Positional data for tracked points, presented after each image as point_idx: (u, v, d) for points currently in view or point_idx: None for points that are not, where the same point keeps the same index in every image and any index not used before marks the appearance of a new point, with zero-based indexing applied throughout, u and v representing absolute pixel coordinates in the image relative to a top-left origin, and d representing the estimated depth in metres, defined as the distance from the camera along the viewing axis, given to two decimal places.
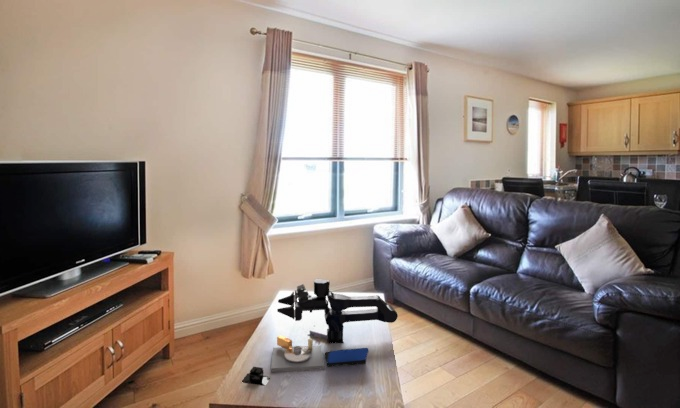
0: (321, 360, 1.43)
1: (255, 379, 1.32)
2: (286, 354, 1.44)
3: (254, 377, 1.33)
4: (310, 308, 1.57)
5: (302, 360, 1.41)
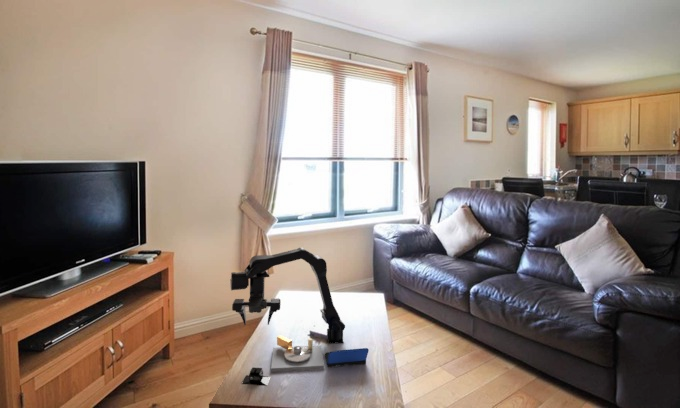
0: (321, 360, 1.43)
1: (255, 380, 1.32)
2: (286, 354, 1.44)
3: (254, 378, 1.33)
4: None
5: (302, 360, 1.41)
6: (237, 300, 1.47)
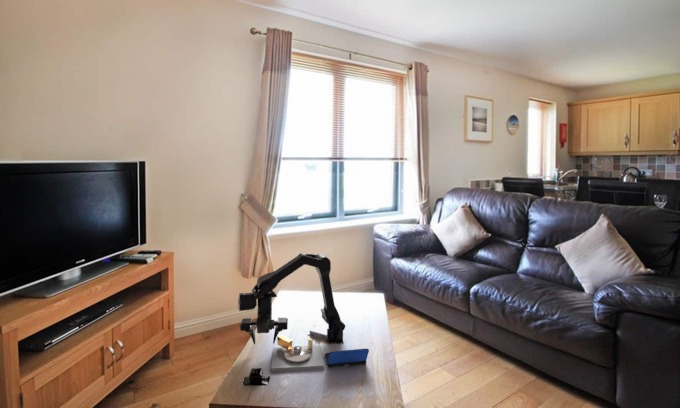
0: (321, 360, 1.43)
1: (255, 380, 1.31)
2: (286, 354, 1.45)
3: (253, 379, 1.32)
4: None
5: (302, 360, 1.41)
6: (244, 320, 1.49)
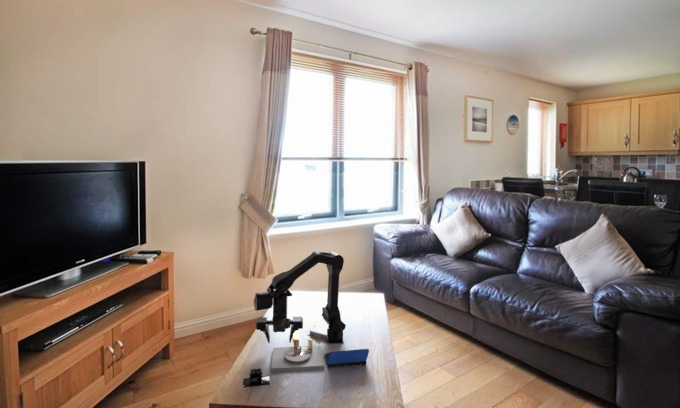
0: (321, 360, 1.43)
1: (256, 381, 1.31)
2: (287, 350, 1.47)
3: (253, 379, 1.32)
4: None
5: (293, 361, 1.41)
6: (260, 319, 1.49)
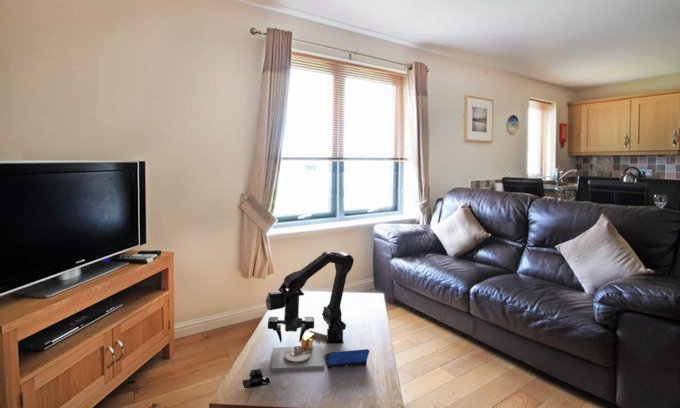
0: (321, 360, 1.43)
1: (256, 381, 1.31)
2: (293, 347, 1.50)
3: (253, 380, 1.31)
4: None
5: (286, 358, 1.43)
6: (272, 318, 1.50)
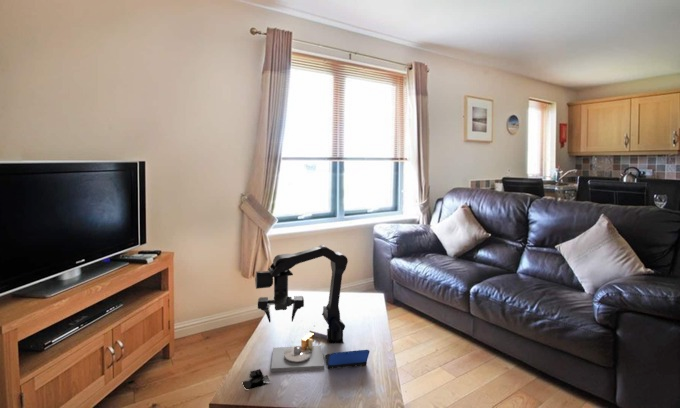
0: (321, 360, 1.43)
1: (257, 382, 1.30)
2: (293, 347, 1.50)
3: (254, 381, 1.31)
4: None
5: (286, 358, 1.43)
6: (261, 299, 1.51)
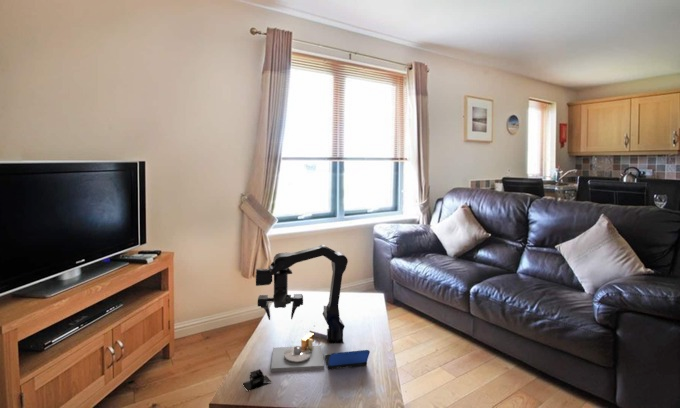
0: (321, 360, 1.43)
1: (257, 382, 1.30)
2: (293, 347, 1.50)
3: (254, 382, 1.30)
4: None
5: (286, 358, 1.43)
6: (261, 296, 1.53)
